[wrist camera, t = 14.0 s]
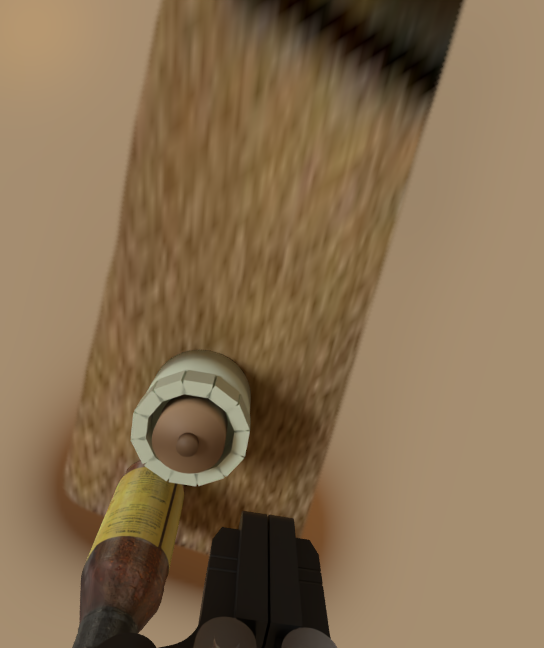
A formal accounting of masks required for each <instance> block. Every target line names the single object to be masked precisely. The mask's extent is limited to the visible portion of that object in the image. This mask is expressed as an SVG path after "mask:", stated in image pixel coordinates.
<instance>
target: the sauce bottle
mask: <svg viewBox="0 0 544 648" xmlns="http://www.w3.org/2000/svg"><path fill="white" fill-rule="evenodd" d="M144 465H145V463H144V464H142V462H141V460H139V461H138V462H136V463H134V464H133V465H131V466H130V467H129V468H128V469H127V471H126V473H125V475H124V477H123V478H122V479H121V480H120V482H119V484H118V486H117V488H116V491H115V493H114V495H113V498H112V500H111V503H110V505H109V507H108V510H107V513H106V515H105V517H104V519H103V522H102V524H101V527H100V529H99V532H98V534H97V537H96V538H95V541H94V544H93V546H92V549H91V551H90V553H89V555H88V558H87V561H86V563H85V565H84V568H83V571H82V576H81V593H80V625H79V629H78V634H77V636H76V640H75V642H74V645H73V647H72V648H96V647H97V646H99V645H100V644H101V643H103V642H104V641H106V640H107V639H109V638H110V637H113V636H115V635H118V634H121V633H137V634H138V633H139V632H140V631H141V630H142V629H143V627H144V626H145V625H146V624H147V623H148V621H149V620H150V619H151V618H152V617H153V615H154V614H155V613H156V612H157V610H158V608H159V606H160V603H161V600H162V596H163V592H164V585H165V582H166V578H167V576H168V573H169V568H170V563H171V559H172V553H173V549H174V544H175V539H176V534H177V530H178V525H179V520H180V516H181V511H182V506H183V501H184V492H185V487H184V484H177V483H171V482H169V479H168V480H167V481H165V480H164V479H162V478H161V477H160V476H158V475H157V474H155V473H154V472H152V471H151V470H149V469H148V468H147V467H145V466H144Z"/></svg>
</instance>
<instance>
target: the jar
mask: <svg viewBox="0 0 544 648" xmlns="http://www.w3.org/2000/svg"><path fill="white" fill-rule="evenodd" d="M183 394H186V395H192V396H198V397H205V398H209V399H210V400H211V401H213V402H214V403H215V404H217V405H218V406H219V407H221V408H222V409H223V410H224V411H225V413H226V416H227V420H228V427H227V434H226V440H225V447H224V451H223V454H222V456H221V458H220V459H219V460H218V462H217V463H216V464H215V465H214V466H212V467H211V468H209V469H207V470H205V471H203V472H199V473H193V474H187V473H181V472H177V471H174V470H172V469H170V468H168V467H167V466H165V465H164V464H163V463H162V462H161V461H160V460H159V459H158V457H157V456H156V454H155V452H154V450H153V446H152V434H153V430H154V428H155V426H156V423H157V421H158V419H159V417H160V414H161V412H162V410H163V408H164V406H165V405H166V404H167V402H169V401H170V400H171V399H172V398H174V397H177V396H180V395H183ZM250 404H251V391H250V386H249V383H248V380H247V378H246V376H245V374H244V373H243V371H242V370H241V369H240V367H239V366H238V365H237V364H236V363H234V362H233V361H232V360H231V359H229V358H228V357H226V356H224V355H222V354H219V353H216V352H213V351H208V350H192V351H187V352H183V353H181V354H178V355H176V356H174V357H173V358H171V359H170V360H168V361H167V362H166V363H165V364H164V365H163V366H162V367H161V369H160V370H159V371H158V373H157V375H156V377H155V379H154V380H153V382H152V384H151V386H150V388H149V389H148V391H147V393H146V394H145V395H144V396H143V398H142V399H141V400H140V402H139V404H138V406H137V407H136V409H135V411H134V413H133V422H132V431H131V438H132V440H131V442H132V444H133V446H134V448H135V450H136V452H137V454H138V456H139V458H140V460H141V462H142V464H144V463H145V465H144V466H145V467H147V468H148V469H149V470H151V471H152V472H154V473H155V474H157V475H158V476H160V477H161V478H162V479H164V480H165V481H167V480H168V479H169V482H171V483H177V484H184V485H190V486H196V485H197V484H198V486H201V485H204V484H207V483H210V482H214V481H217V480H220V479H223V478H224V477H225V476H226V477H227V476H228V475H229V474H230V472H231V471H232V470H233V469H234V468H235V467H236V466H237V465H238V464H239V463H240V462H241V461H242V460H243V459H244V456H245V454H246V449H247V443H248V438H249V433H250V421H251V419H250Z"/></svg>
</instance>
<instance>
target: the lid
mask: <svg viewBox="0 0 544 648" xmlns="http://www.w3.org/2000/svg"><path fill="white" fill-rule="evenodd" d="M227 427H228V420H227V416H226V413H225V411H224V410H223V409H222V408H221V407H219V406H218V405H217V404H215V403H214V402H213V401H211V400H210V399H209V398H205V397H198V396H192V395H186V394H183V395H180V396H177V397H174V398H172V399H171V400H170V401H169V402H167V404H166V405H165V406H164V408H163V410H162V412H161V414H160V417H159V419H158V421H157V423H156V426H155V428H154V430H153V434H152V446H153V450H154V452H155V454H156V456H157V457H158V459H159V460H160V461H161V462H162V463H163V464H164V465H165V466H167V467H168V468H170V469H172V470H174V471H177V472H181V473H187V474H193V473H199V472H203V471H205V470H207V469H209V468H211V467H212V466H214V465H215V464H216V463H217V462H218V460H219V459H220V458H221V456H222V454H223V451H224V447H225V440H226V434H227Z"/></svg>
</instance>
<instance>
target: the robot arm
mask: <svg viewBox="0 0 544 648" xmlns="http://www.w3.org/2000/svg"><path fill="white" fill-rule="evenodd" d="M320 571H321V569H320V562H319V555H318V553H317V551H316V550H315V548H314V547H313V545H312V543H311V542H310V540H307V539H300V538H295V526H294V519H293V518H287V517H281V516H274V515H268V518H267V515H266V514H260V513H253V512H246V511H242V514H241V519H240V524H239V529H231V528H224V527H222V528H221V529H220V530H219V532H218V533H217V534H216V536H215V537H214V538H213V540H212V546H211V551H210V556H209V562H208V568H207V573H206V578H205V584H204V591H203V597H202V604H201V611H200V617H199V624H198V627H197V629H196V630H195V631H194V632H193V633H192V635H190V636H189V637H188V638H187V639H185V640H184V641H182V642H179V643H177V644H174V645H170V646H165V647H160V648H337V646H336V645H335V643H334V642H333V641H332V640H331V638H330V633H329V626H328V619H327V612H326V605H325V598H324V590H323V586H322V576H321V573H320ZM96 648H156V646H155V645H154V644H153V642H152V641H151V640H149V639H148V638H147V637H145V636H143V635H140V634H137V633H121V634H118V635H115V636H113V637H110V638H109V639H107V640H106V641H104V642H103V643H101V644H100V645H99V646H97V647H96Z"/></svg>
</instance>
